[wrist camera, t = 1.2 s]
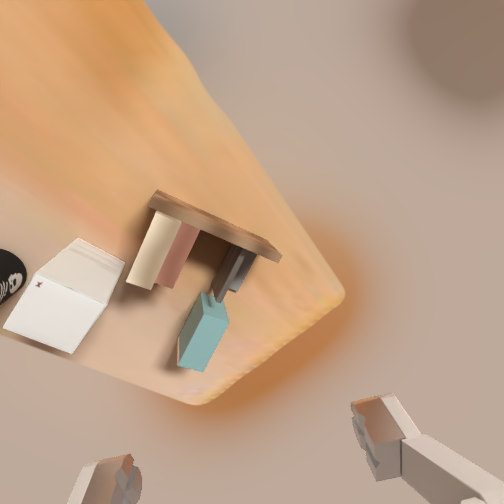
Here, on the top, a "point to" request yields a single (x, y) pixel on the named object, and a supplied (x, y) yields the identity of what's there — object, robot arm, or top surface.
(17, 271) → the beverage can
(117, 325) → the top surface
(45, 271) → the supplement box
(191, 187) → the top surface
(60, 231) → the top surface
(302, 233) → the top surface
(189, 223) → the book stack with bookend
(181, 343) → the boxed book
